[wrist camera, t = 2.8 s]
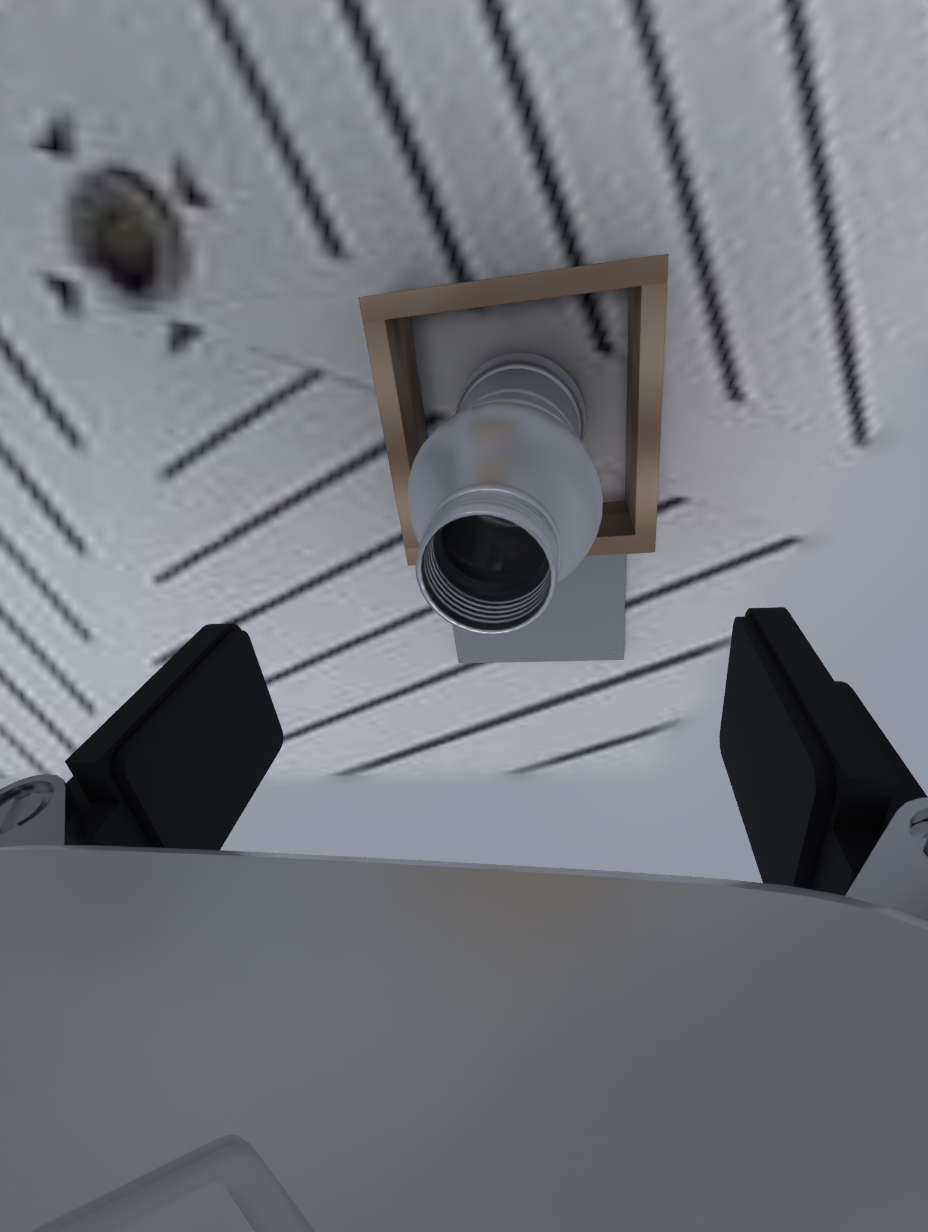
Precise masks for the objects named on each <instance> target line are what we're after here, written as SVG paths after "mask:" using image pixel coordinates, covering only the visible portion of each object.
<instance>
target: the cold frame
mask: <svg viewBox="0 0 928 1232" xmlns="http://www.w3.org/2000/svg"><path fill="white" fill-rule="evenodd" d="M667 276H668V254H664V255H657V256H649V257H642V258H635V259H628V260H621V261H614V262H607V263H599V264H592V265H585V266H578V267H571V268H564V269H556V270H549V271H542V272H535V273H528V274H521V275H514V276H506V277H499V278H492V279H485V280H478V281H471V282H463V283H456V284H449V285H442V286H435V287H428V288H421V289H413V290H406V291H399V292H392V293H385V294H378V295H370V296H363V297H358V298H359V303H360V309H361V314H362V319H363V325H364V330H365V335H366V341H367V346H368V352H369V357H370V362H371V368H372V373H373V379H374V384H375V389H376V395H377V400H378V406H379V411H380V416H381V422H382V427H383V433H384V438H385V443H386V449H387V454H388V460H389V465H390V470H391V476H392V481H393V487H394V492H395V497H396V503H397V508H398V513H399V519H400V524H401V530H402V535H403V540H404V546H405V551H406V557H407V562H408V565H416V559H417V551H418V548H419V545H420V544H419V542H418V540H417V538H416V535H415V532H414V529H413V526H412V523H411V518H410V512H409V504H408V496H407V495H408V482H409V476H410V472H411V469H412V465H413V462H414V459H415V458H416V456H417V454H418V452H419V450H420V448H421V446H422V445H423V443H424V442H425V441H426V440H427V439H428V438H427V431H426V424H425V418H424V411H423V404H422V397H421V391H420V384H419V377H418V371H417V364H416V357H415V351H414V344H413V337H412V331H411V324H410V317H409V316H416V315H424V314H432V313H439V312H447V311H454V310H462V309H470V308H477V307H485V306H492V305H500V304H508V303H515V302H523V301H530V300H538V299H546V298H553V297H561V296H568V295H576V294H584V293H591V292H599V291H606V290H614V289H622V288H629V301H628V361H627V421H626V481H625V502H611V503H603V508H602V519H601V523H600V527H599V530H598V534H597V536H596V538H595V540H594V542H593V544H592V546H591V548H590V550H589V551H588V553H587V554H586V556H594V555H613V554H631V553H650V552H655V542H656V520H657V498H658V476H659V454H660V431H661V409H662V387H663V365H664V343H665V320H666V298H667Z"/></svg>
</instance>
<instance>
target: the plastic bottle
mask: <svg viewBox="0 0 928 1232" xmlns="http://www.w3.org/2000/svg"><path fill="white" fill-rule="evenodd" d="M585 430H586V412H585V406H584V401H583V399H582V396H581V393H580V391H579V389H578V387H577V386H576V384H575V382H574V381H573V379H572V378H571V377H570V376H569V375H568V374H567V373H566V372H565V371H564V369H563V368H561V367H560V366H558V365H557V364H555V363H554V362H553V361H551V360H549V359H547V358H544V357H542V356H539V355H535V354H530V353H509V354H504V355H500V356H497V357H495V358H493V359H491V360H489V361H487V362H485V363H484V364H483V365H481V366H480V367H479V368H477V369H476V370H475V371H474V372H473V374H472V375H471V376H470V377H469V378H468V379H467V381H466V383H465V385H464V387H463V388H462V390H461V393H460V396H459V399H458V402H457V408H456V414H455V415H453V416H452V417H451V418H449V419H448V420H447V421H445V422H444V423H443V424H441V425H440V426H439V427H438V428H437V429H436V430H435V431H434V432H433V433H432V434H431V435H430V436H429V438H428V439H427V440H426V441H425V442H424V443H423V445H422V446H421V448H420V450H419V452H418V454H417V456H416V458H415V459H414V462H413V465H412V469H411V472H410V476H409V482H408V495H407V496H408V504H409V512H410V518H411V523H412V526H413V529H414V532H415V535H416V538H417V540H418V542H419V544H420V545H419V548H418V551H417V559H416V575H417V581H418V584H419V587H420V590H421V592H422V594H423V596H424V597H425V599H426V601H427V603H428V604H429V605H430V606H431V607H432V609H433V610H434V611H435V612H436V613H437V614H438V615H439V616H441V617H442V618H443V619H444V620H446V621H447V622H449V623H450V624H452V625H454V626H456V627H457V628H460V629H463V630H465V631H468V632H471V633H476V634H481V635H503V634H509V633H512V632H516V631H519V630H521V629H523V628H525V627H527V626H529V625H531V624H532V623H533V622H535V621H536V620H537V619H538V618H539V617H541V615H542V614H543V613H544V612H545V610H546V609H547V608H548V606H549V604H550V602H551V600H552V598H553V596H554V594H555V591H556V587H557V584H558V583H559V582H561V581H562V580H564V579H565V578H566V577H567V576H568V575H569V574H571V573H572V572H573V571H574V570H575V569H576V568H577V566H578V565H579V564H580V562H581V561H582V560H583V559H584V557H585V556H586V554H587V553H588V551H589V550H590V548H591V546H592V544H593V542H594V540H595V538H596V536H597V534H598V530H599V527H600V523H601V519H602V508H603V495H602V489H601V483H600V478H599V476H598V473H597V471H596V468H595V466H594V463H593V461H592V459H591V457H590V454H589V453H588V451H587V450H586V448H585V447H584V445H583V443H582V442H583V438H584V434H585Z"/></svg>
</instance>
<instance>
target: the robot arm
mask: <svg viewBox="0 0 928 1232" xmlns="http://www.w3.org/2000/svg"><path fill="white" fill-rule="evenodd" d="M282 743H283V732H282V728H281V725H280V722H279V720H278V717H277V714H276V711H275V708H274V705H273V703H272V700H271V697H270V694H269V691H268V688H267V686H266V683H265V680H264V677H263V674H262V671H261V669H260V666H259V663H258V660H257V657H256V654H255V651H254V649H253V646H252V643H251V640H250V637H249V635H248V634H247V632H246V631H243V630H241V628H240V627H239V626H238V625H236V624H209V625H206V626H204V627H203V628H202V629H201V630H200V631H199V632H197V633H196V634H195V635H194V636H193V637H192V638H191V639H190V640H189V641H188V642H187V643H186V644H185V645H184V646H183V647H182V648H181V649H180V650H179V651H178V652H177V653H176V654H175V655H174V656H173V657H172V658H171V659H170V660H169V661H168V662H167V663H166V664H165V665H164V666H163V667H161V668H160V669H159V670H158V671H157V672H156V673H155V674H154V675H153V676H152V677H151V678H150V679H149V680H148V681H147V682H146V683H145V684H144V685H143V686H142V687H141V688H140V689H139V690H138V691H137V692H136V693H135V694H134V695H133V696H132V697H131V698H130V699H129V700H128V701H127V702H126V703H124V704H123V705H122V706H121V707H120V708H119V709H118V710H117V711H116V712H115V713H114V714H113V715H112V716H111V717H110V718H109V719H108V720H107V721H106V722H105V723H104V724H103V725H102V726H101V727H100V728H99V729H98V730H97V731H96V732H95V733H94V734H93V735H92V736H91V737H90V738H88V739H87V740H86V741H85V742H84V743H83V744H82V745H81V746H80V747H79V748H78V749H77V750H76V751H75V752H74V753H73V754H72V755H71V756H70V757H69V758H68V759H67V760H66V761H65V762H66V764H67V766H68V767H69V769H70V771H71V772H72V774H73V777H72V778H71V779H70V780H69V781H68V782H67V783H65V782H64V780H63V779H62V778H60V777H59V776H57V775H50V774H43V775H36V776H31V777H28V778H25V779H22V780H19V781H17V782H14V783H12V784H10V785H8V786H6V787H4V788H2V789H0V1232H928V797H927V796H926V794H925V793H924V791H923V790H922V788H921V787H920V786H919V784H918V783H917V781H916V780H915V778H914V777H913V776H912V774H911V773H910V771H909V770H908V768H907V767H906V765H905V764H904V762H903V761H902V759H901V758H900V757H899V755H898V754H897V752H896V751H895V749H894V748H893V746H892V745H891V744H890V742H889V741H888V739H887V738H886V737H885V735H884V733H883V732H882V731H881V729H880V728H879V726H878V725H877V723H876V722H875V720H874V719H873V718H872V716H871V715H870V714H869V712H868V710H867V709H866V708H865V706H864V705H863V703H862V702H861V700H860V699H859V697H858V696H857V695H856V693H855V692H854V690H853V689H852V688H851V687H850V686H849V685H848V684H847V683H844V682H842V681H839V682H838V681H837V682H836V681H834V680H833V678H832V677H831V675H830V674H829V672H828V671H827V669H826V668H825V666H824V665H823V663H822V662H821V660H820V659H819V657H818V656H817V654H816V653H815V651H814V650H813V648H812V647H811V645H810V643H809V642H808V640H807V639H806V637H805V636H804V634H803V633H802V632H801V630H800V628H799V627H798V625H797V624H796V622H795V621H794V620H793V618H792V617H791V615H790V613H789V612H788V610H787V609H786V608H783V607H778V608H749V609H748V610H747V612H746V614H745V617H736V618H735V620H734V624H733V631H732V639H731V647H730V655H729V664H728V672H727V680H726V688H725V696H724V705H723V712H722V721H721V729H720V749H721V754H722V758H723V761H724V764H725V767H726V770H727V773H728V776H729V779H730V782H731V785H732V789H733V792H734V795H735V798H736V801H737V804H738V807H739V810H740V813H741V816H742V819H743V823H744V825H745V829H746V832H747V835H748V838H749V841H750V844H751V847H752V850H753V853H754V856H755V860H756V862H757V866H758V868H759V872H760V875H761V878H762V881H763V883H756V882H745V881H737V880H728V879H716V878H715V879H714V878H704V877H691V876H676V875H660V874H645V873H632V872H631V873H630V872H618V871H601V870H583V869H566V868H548V867H529V866H513V865H496V864H479V863H461V862H441V861H423V860H404V859H385V858H366V857H346V856H345V857H344V856H326V855H306V854H286V853H265V852H263V853H262V852H243V851H220V849H221V847H222V846H223V844H224V842H225V841H226V839H227V837H228V836H229V834H230V832H231V831H232V829H233V827H234V825H235V824H236V822H237V821H238V819H239V817H240V816H241V814H242V812H243V811H244V809H245V807H246V806H247V804H248V802H249V801H250V799H251V797H252V796H253V794H254V792H255V791H256V789H257V787H258V786H259V784H260V782H261V781H262V779H263V777H264V776H265V774H266V772H267V771H268V769H269V767H270V766H271V764H272V762H273V761H274V759H275V757H276V756H277V754H278V752H279V751H280V749H281V747H282Z"/></svg>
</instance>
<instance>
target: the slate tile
mask: <svg viewBox="0 0 928 1232" xmlns="http://www.w3.org/2000/svg"><path fill="white" fill-rule="evenodd" d="M625 567H626V554H613V555H594V556H585V557H584V559H583V560H582V561H581V562H580V564H579V565H578V566H577V568H576V569H575V570H574V571H573V572H572V573H571V574H569V575H568V576H567V577H566V578H565V579H564V580H562V581H561V582H559V583H558V584H557V587H556V591H555V594H554V596H553V598H552V600H551V602H550V604H549V606H548V608H547V609H546V610H545V612H544V613H543V614H542V615H541V617H539V618H538V619H537V620H536V621H535V622H533V623H532V624H531V625H529V626H527V627H525V628H523V629H521V630H519V631H516V632H512V633H509V634H503V635H481V634H476V633H471V632H468V631H465V630H463V629H460V628H457V627H456V626H454V625H453V630H454V636H455V643H456V649H457V656H458V663H494V662H539V661H584V660H624V622H625Z"/></svg>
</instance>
